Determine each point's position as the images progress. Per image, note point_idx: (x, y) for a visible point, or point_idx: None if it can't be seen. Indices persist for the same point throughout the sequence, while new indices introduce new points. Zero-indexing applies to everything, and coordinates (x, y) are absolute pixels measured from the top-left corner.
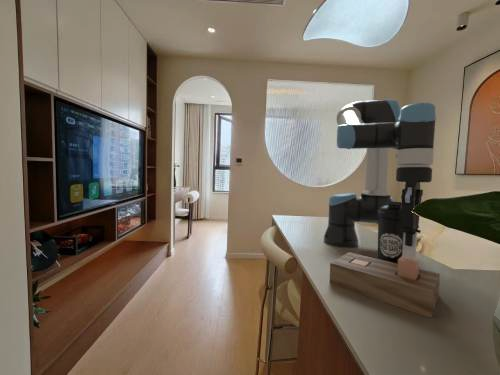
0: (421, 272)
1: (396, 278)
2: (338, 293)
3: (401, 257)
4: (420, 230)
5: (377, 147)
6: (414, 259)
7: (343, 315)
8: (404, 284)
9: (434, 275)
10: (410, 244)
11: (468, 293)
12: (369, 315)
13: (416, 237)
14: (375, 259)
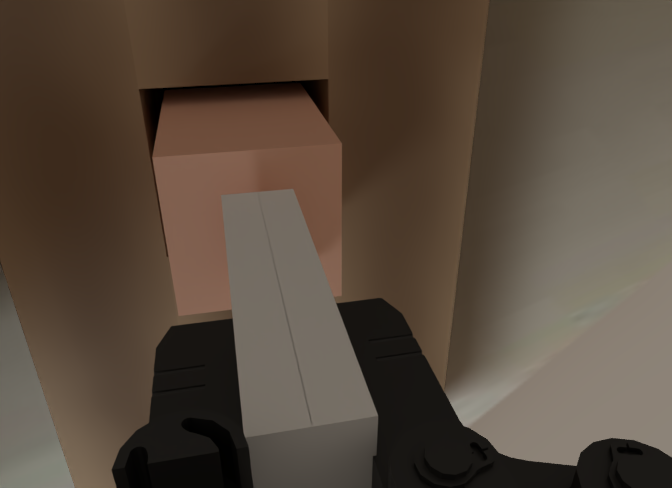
0: (62, 98)
1: (403, 205)
2: (469, 354)
3: (224, 302)
4: (145, 463)
5: None
6: (171, 200)
7: (644, 253)
8: (472, 135)
9: None
10: (403, 324)
11: None
12: (587, 184)
13: (267, 367)
14: (88, 441)
